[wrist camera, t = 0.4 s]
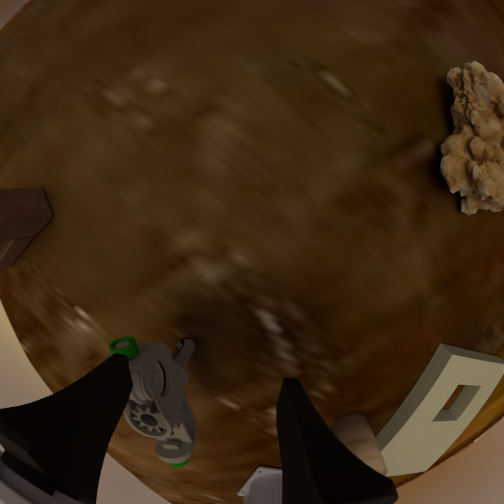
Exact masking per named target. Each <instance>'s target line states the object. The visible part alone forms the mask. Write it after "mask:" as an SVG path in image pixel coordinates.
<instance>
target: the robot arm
mask: <svg viewBox="0 0 504 504" xmlns="http://www.w3.org/2000/svg"><path fill="white" fill-rule="evenodd" d="M132 388H133V381H132V377H131V373H130V368H129V363H128V358H127V355H123V354H119V353H115V354H113V355H112V356H110V357H109V358H108V359H106V360H105V361H104V362H102V363H101V364H100V365H98V366H97V367H96V368H94V369H93V370H92V371H90V372H89V373H87V374H86V375H85V376H83V377H82V378H80V379H79V380H77V381H76V382H74V383H72V384H71V385H69V386H68V387H66V388H64V389H62V390H60V391H58V392H56V393H54V394H52V395H50V396H48V397H45V398H42V399H40V400H37V401H34V402H32V403H28V404H24V405H21V406H16V407H10V408H3V409H0V444H1V445H2V446H3V448H4V449H5V451H4V452H3V453H2V451H0V501H1V502H2V503H3V504H96V498H97V490H98V484H99V479H100V474H101V469H102V465H103V461H104V458H105V454H106V451H107V448H108V444H109V442H110V439H111V437H112V434H113V432H114V430H115V428H116V426H117V424H118V422H119V420H120V418H121V416H122V414H123V411H124V409H125V407H126V405H127V403H128V400H129V397H130V394H131V391H132ZM276 424H277V433H278V441H279V448H280V456H281V463H282V469H277V468H270V467H264V466H260V467H258V468H257V469H256V470H255V472H254V473H253V474H252V475H251V477H250V478H249V479H248V480H247V482H246V483H245V484H244V485H243V487H242V488H241V489H240V490H239V491H238V495H239V496H244V501H243V504H393V503H395V502H396V501H397V499H398V494H397V490H396V487H395V485H394V483H393V481H392V480H391V479H389V478H388V477H386V476H384V475H382V474H381V473H379V472H377V471H375V470H374V469H373V468H371V467H370V466H368V465H367V464H365V463H364V462H363V461H362V460H361V459H359V458H358V457H357V456H356V455H355V454H353V453H352V452H351V451H350V450H349V449H348V448H347V447H346V446H345V445H344V444H343V443H342V442H341V441H340V440H339V439H338V438H337V437H336V436H335V435H334V433H333V432H332V431H331V430H330V429H329V427H328V426H327V425H326V423H325V422H324V421H323V419H322V418H321V416H320V415H319V413H318V412H317V410H316V409H315V407H314V406H313V404H312V403H311V401H310V399H309V397H308V396H307V394H306V392H305V390H304V388H303V386H302V385H301V383H300V380H299V379H298V378H284V380H283V384H282V387H281V391H280V395H279V398H278V402H277V406H276Z"/></svg>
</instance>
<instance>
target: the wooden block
mask: <svg viewBox="0 0 504 504" xmlns="http://www.w3.org/2000/svg"><path fill="white" fill-rule="evenodd" d="M52 217H53V213H52V211H51V209H50V206H49V204H48V201H47V199H46V196H45V193H44V191H43V189H42V188H15V189H0V271H1V270H4V269H7V268H9V267H11V266H12V265H13V263H14V262H15V261H16V259H17V258H18V257H19V255H20V254H21V253H22V252H23V250H24V249H25V248H26V247H27V245H28V244H29V243H30V242H31V241H32V239H33V238H34V237H35V235H36V234H38V233H39V231H40V230H41V229H42V228H43V227H44V226H45V225H46V224H47V222H48V221H49V220H50V219H51V218H52Z"/></svg>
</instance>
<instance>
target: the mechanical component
mask: <svg viewBox="0 0 504 504" xmlns="http://www.w3.org/2000/svg"><path fill="white" fill-rule="evenodd" d="M109 348H110V351H111V353H110V354H109V355H108V356H107V357H106V359H108V358H109V357H110V356H112V355H113V354H115V353H119V354H123V355H127V358H128V363H129V368H130V373H131V377H132V381H133V388H132V391H131V394H130V397H129V400H128V403H127V405H126V407H125V409H124V413H125V417H126V420H127V422H128V423H129V424H130V426H131V427H132V428H133V429H135V430H136V431H137V432H139V433H140V434H142V435H145V436H147V437H152V438H157V443H156V446H155V451H156V453H157V454H158V456H159V457H160V459H161V460H163V461H164V462H167V463H169V464H170V465H171V466H173V467H182V466H184V465H185V464H186V463H187V462H188V460H189V458H190V457H191V456H192V454H193V451H194V447H195V443H196V440H197V423H196V420H195V417H194V415H193V412H192V410H191V408H190V405H189V403H188V400H187V398H186V395H185V392H184V390H183V388H184V387H185V386H186V385H187V383H188V375H187V372H186V371H185V370H186V367H187V365H188V363H189V361H190V358H191V356H192V354H193V352H194V349H195V344H194V342H193V341H192V340H191V339H185V340H184V346H183V344H181V342H180V340H179V341H178V343H177V345H176V346H175V348H174V350H173V352H172V353H170V351H169V348H168V346H167V345H166V344H165V343H164V342H146V343H136V340H135V338H133V337H123V338H119V339H117V340H115V341H113V342H112V343H111V344H110V345H109ZM106 359H105V360H106ZM105 360H104V361H105ZM104 361H103V362H104Z"/></svg>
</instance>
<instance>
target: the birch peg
mask: <svg viewBox="0 0 504 504" xmlns="http://www.w3.org/2000/svg"><path fill="white" fill-rule="evenodd" d="M332 430H333V433H334V435H335V436H336V437H337V438H338V439H339V440H340V441H341V442H342V443H343V444H344V445H345V446H346V447H347V448H348V449H349V450H350V451H351V452H352V453H353V454H355V455H356V456H357V457H358V458H359V459H361V460H362V461H363V462H364V463H365V464H367V465H368V466H370V467H371V468H373V469H374V470H375V471H377V472H379V473H381V474H382V475H384V476H385V475H386V474H387V472H388V469H387V467H386V464H385V462H384V459H383V457H382V454H381V451H380V449H379V446H378V444H377V441H376V439H375V437H374V434H373V432H372V429H371V427H370V424H369V422H368V420H367V417H366V416H365V415H364V414H363V413H358V412H356V413H350V414H347V415H344V416H342V417H341V418H339V419H338V420H337V421H336V422H335V423H334V424H333V427H332Z"/></svg>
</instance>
